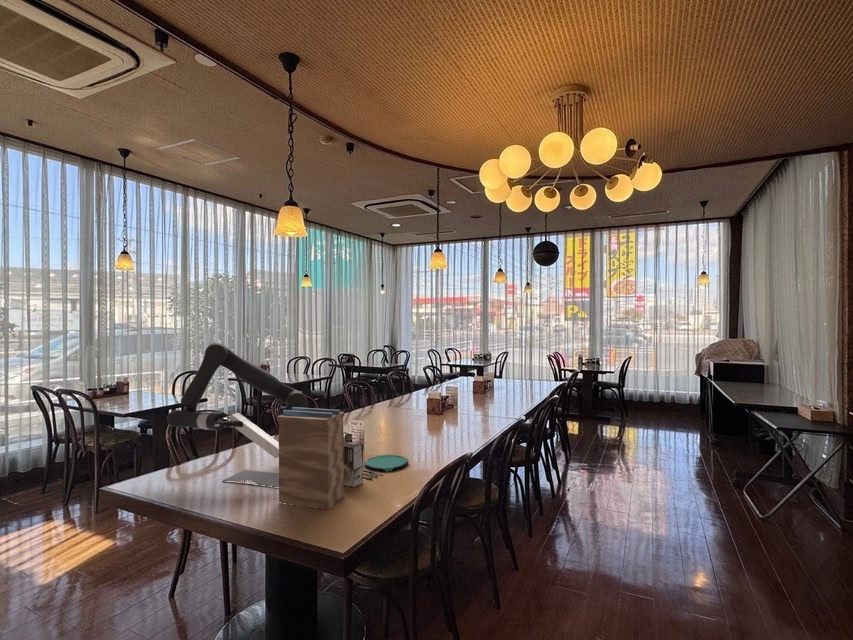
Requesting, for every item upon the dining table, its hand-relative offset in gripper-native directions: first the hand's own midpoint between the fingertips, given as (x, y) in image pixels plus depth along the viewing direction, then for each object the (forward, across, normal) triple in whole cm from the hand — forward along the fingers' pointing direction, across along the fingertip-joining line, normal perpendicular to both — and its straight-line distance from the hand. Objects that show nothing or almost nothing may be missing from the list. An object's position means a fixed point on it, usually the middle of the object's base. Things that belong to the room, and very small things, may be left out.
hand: (246, 423), depth 185 cm
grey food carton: (+42, +10, +25) cm, 50 cm away
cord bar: (+4, 0, +6) cm, 7 cm away
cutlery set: (+46, +32, +25) cm, 62 cm away
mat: (+5, +5, +25) cm, 26 cm away
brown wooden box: (+36, -10, +25) cm, 45 cm away
